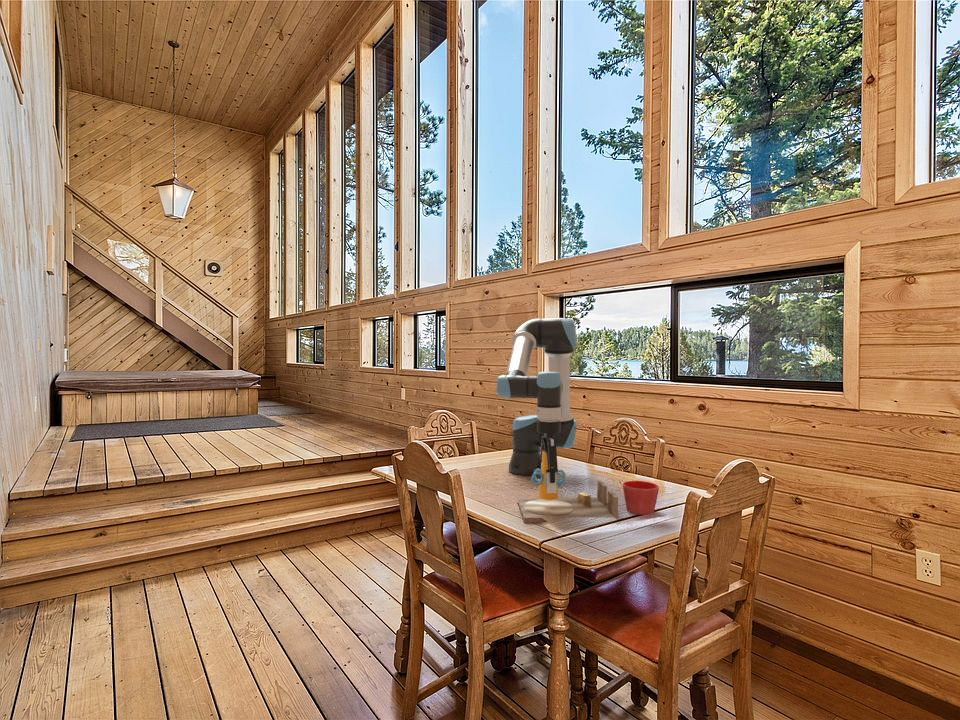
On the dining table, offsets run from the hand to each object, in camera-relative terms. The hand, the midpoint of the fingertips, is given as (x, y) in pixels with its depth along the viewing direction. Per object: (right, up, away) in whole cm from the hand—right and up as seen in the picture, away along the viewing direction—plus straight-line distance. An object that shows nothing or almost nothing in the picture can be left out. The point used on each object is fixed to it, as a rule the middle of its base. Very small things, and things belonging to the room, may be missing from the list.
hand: (548, 487), depth 170 cm
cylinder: (0, -3, 0) cm, 3 cm away
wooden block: (+12, -6, +5) cm, 15 cm away
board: (+6, -8, 0) cm, 10 cm away
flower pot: (+29, -8, -3) cm, 30 cm away
